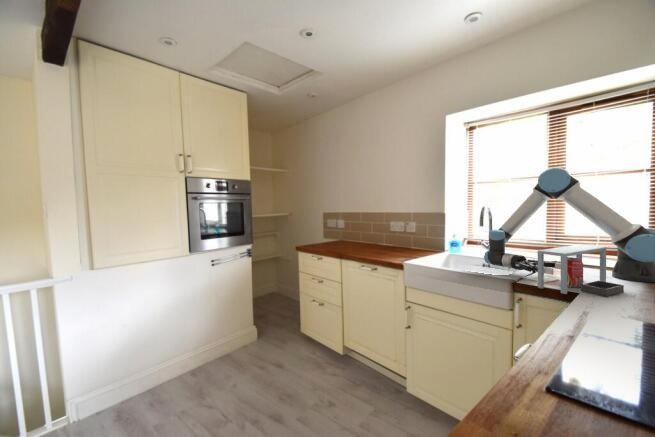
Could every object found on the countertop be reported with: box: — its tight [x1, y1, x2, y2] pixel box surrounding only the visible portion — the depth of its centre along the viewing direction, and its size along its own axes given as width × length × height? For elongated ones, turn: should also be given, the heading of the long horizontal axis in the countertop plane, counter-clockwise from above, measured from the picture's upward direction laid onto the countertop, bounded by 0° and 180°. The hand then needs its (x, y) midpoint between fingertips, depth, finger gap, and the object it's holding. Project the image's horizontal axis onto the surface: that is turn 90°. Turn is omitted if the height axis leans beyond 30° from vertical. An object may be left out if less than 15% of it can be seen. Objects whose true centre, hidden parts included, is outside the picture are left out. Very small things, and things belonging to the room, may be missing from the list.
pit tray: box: [580, 280, 625, 298], centre depth 109 cm, size 12×8×3 cm, turn 112°
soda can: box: [567, 256, 584, 288], centre depth 118 cm, size 7×7×12 cm
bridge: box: [537, 244, 607, 295], centre depth 118 cm, size 30×10×16 cm, turn 112°
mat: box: [521, 274, 559, 284], centre depth 131 cm, size 10×10×1 cm
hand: (562, 269), depth 121 cm, fingers open, 13 cm apart
